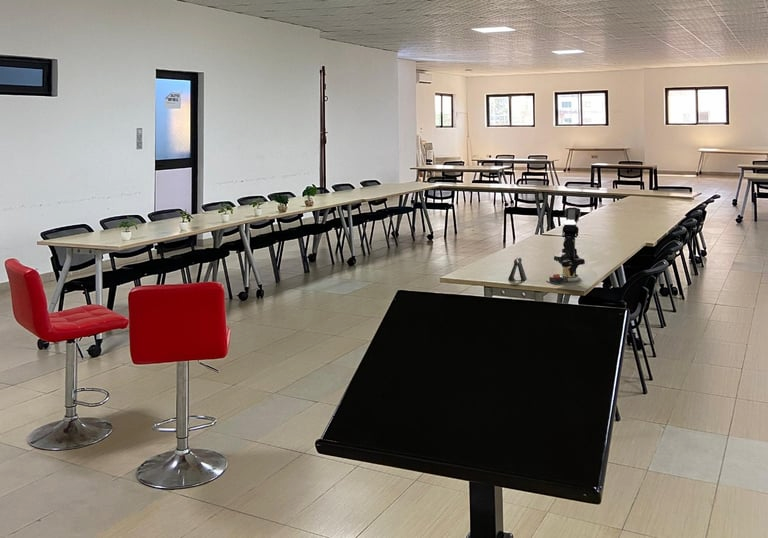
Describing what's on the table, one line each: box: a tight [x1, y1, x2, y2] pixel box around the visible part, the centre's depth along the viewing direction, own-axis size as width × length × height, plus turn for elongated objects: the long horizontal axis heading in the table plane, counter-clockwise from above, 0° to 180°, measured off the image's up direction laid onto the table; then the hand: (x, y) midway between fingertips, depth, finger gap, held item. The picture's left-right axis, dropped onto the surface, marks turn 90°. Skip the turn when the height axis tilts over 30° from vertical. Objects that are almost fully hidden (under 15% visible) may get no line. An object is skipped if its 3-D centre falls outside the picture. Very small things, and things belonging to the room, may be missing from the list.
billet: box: [562, 266, 575, 278], centre depth 410 cm, size 4×4×6 cm
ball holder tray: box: [546, 275, 580, 285], centre depth 409 cm, size 16×8×3 cm, turn 117°
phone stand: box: [507, 257, 527, 282], centre depth 414 cm, size 9×6×12 cm, turn 68°
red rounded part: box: [552, 273, 561, 278], centre depth 407 cm, size 3×3×3 cm
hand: (568, 275), depth 410 cm, fingers closed on billet, 4 cm apart
